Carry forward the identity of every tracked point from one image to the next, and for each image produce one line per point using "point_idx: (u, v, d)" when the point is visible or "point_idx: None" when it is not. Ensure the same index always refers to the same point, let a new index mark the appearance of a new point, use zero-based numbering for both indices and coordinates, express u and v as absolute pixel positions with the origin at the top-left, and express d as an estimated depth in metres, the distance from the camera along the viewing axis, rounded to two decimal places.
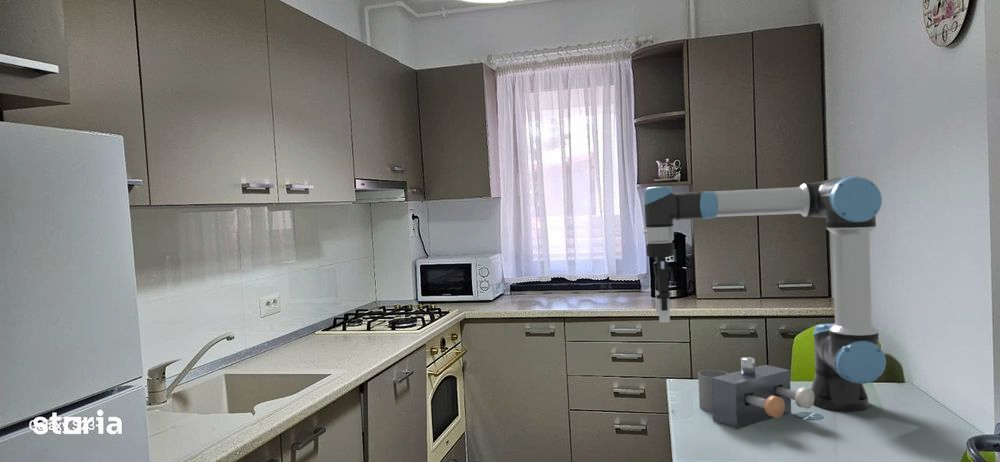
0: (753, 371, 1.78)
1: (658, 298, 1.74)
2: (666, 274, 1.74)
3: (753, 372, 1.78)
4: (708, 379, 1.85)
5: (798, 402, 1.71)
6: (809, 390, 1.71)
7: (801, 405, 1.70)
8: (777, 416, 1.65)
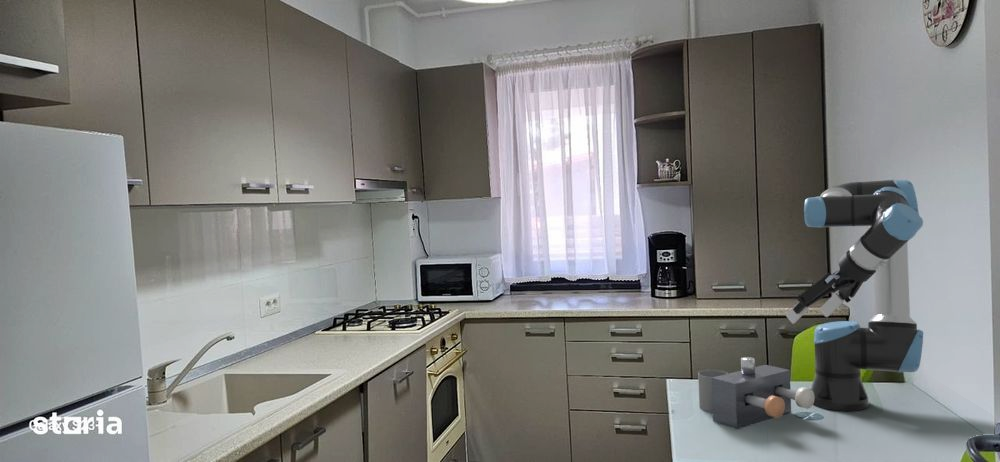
0: (753, 371, 1.78)
1: None
2: None
3: (753, 372, 1.78)
4: (708, 379, 1.85)
5: (798, 402, 1.71)
6: (809, 390, 1.71)
7: (801, 405, 1.70)
8: (777, 416, 1.65)
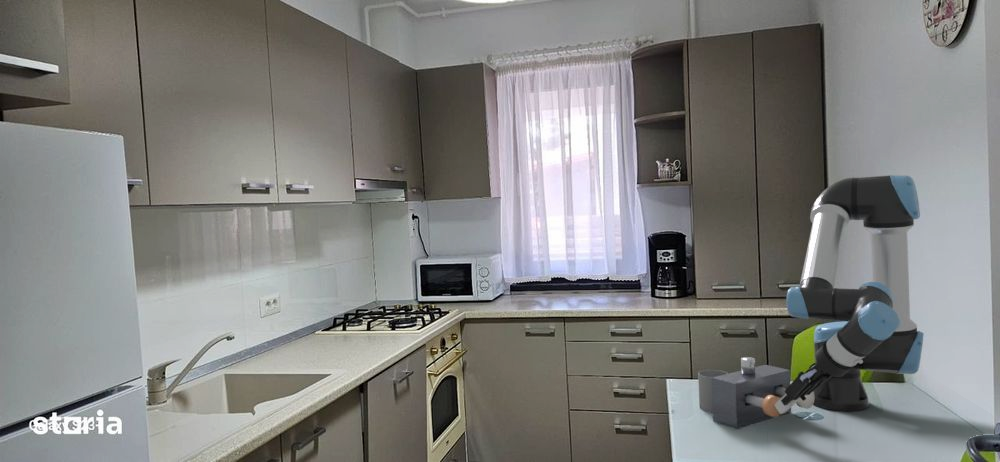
0: (753, 371, 1.78)
1: (801, 398, 1.60)
2: None
3: (753, 372, 1.78)
4: (708, 379, 1.85)
5: (798, 402, 1.71)
6: None
7: (801, 405, 1.70)
8: (775, 415, 1.65)
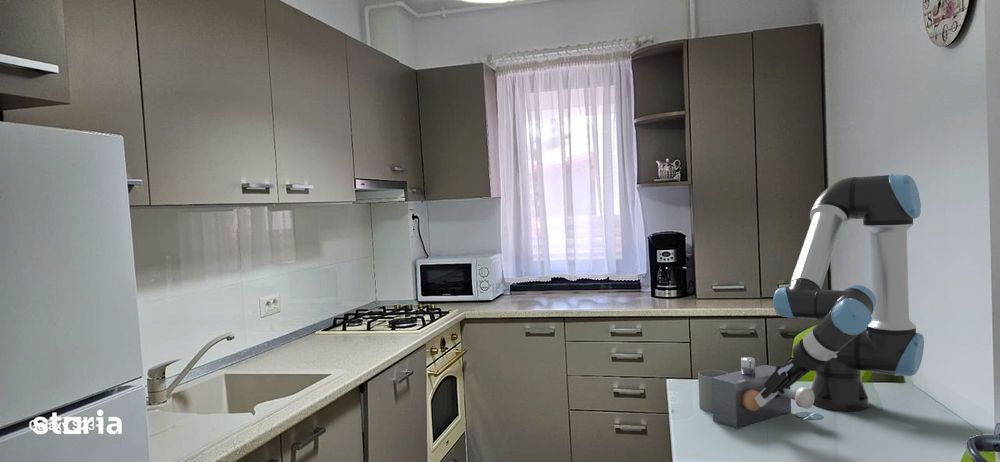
0: (753, 371, 1.78)
1: (780, 392, 1.65)
2: None
3: (753, 372, 1.78)
4: (708, 379, 1.85)
5: (798, 402, 1.71)
6: (809, 390, 1.71)
7: (801, 405, 1.70)
8: (754, 409, 1.71)
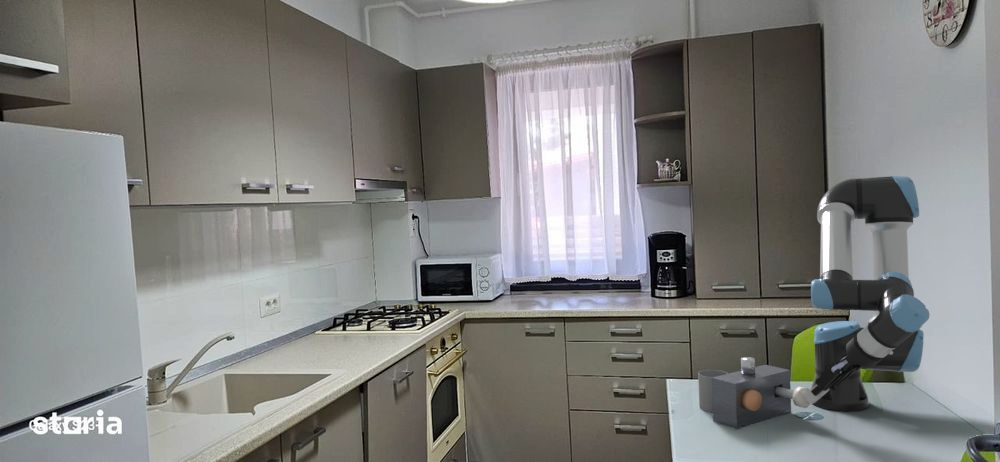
0: (753, 371, 1.78)
1: (831, 389, 1.66)
2: None
3: (753, 372, 1.78)
4: (708, 379, 1.85)
5: (795, 402, 1.71)
6: (806, 389, 1.72)
7: (798, 404, 1.71)
8: (754, 409, 1.71)
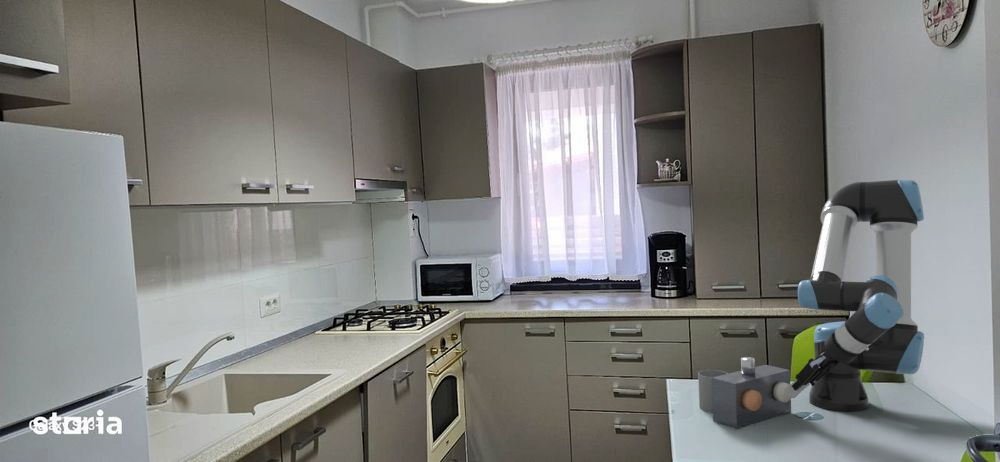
0: (753, 371, 1.78)
1: (811, 384, 1.71)
2: None
3: (753, 372, 1.78)
4: (708, 379, 1.85)
5: (776, 397, 1.77)
6: (787, 384, 1.77)
7: (779, 399, 1.76)
8: (754, 409, 1.71)
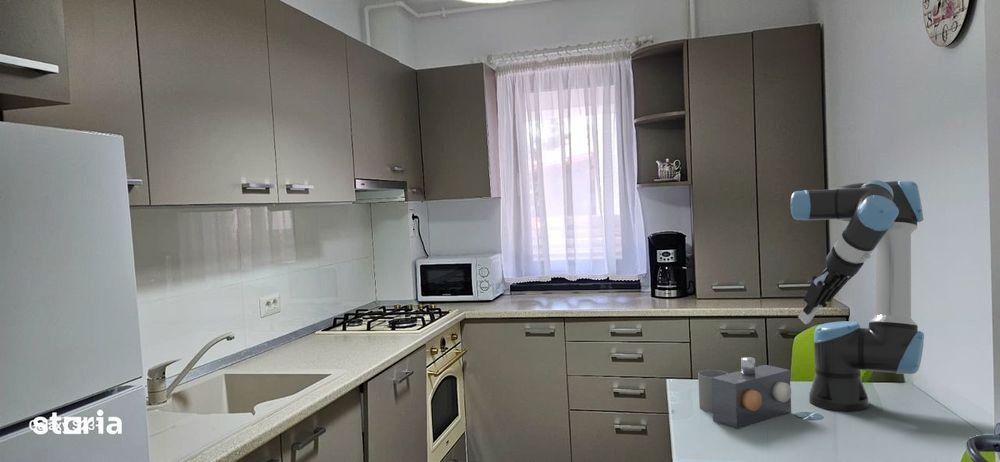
0: (752, 371, 1.78)
1: (822, 305, 1.65)
2: None
3: (752, 372, 1.78)
4: (708, 379, 1.85)
5: (775, 396, 1.77)
6: (786, 384, 1.77)
7: (778, 399, 1.76)
8: (754, 409, 1.71)
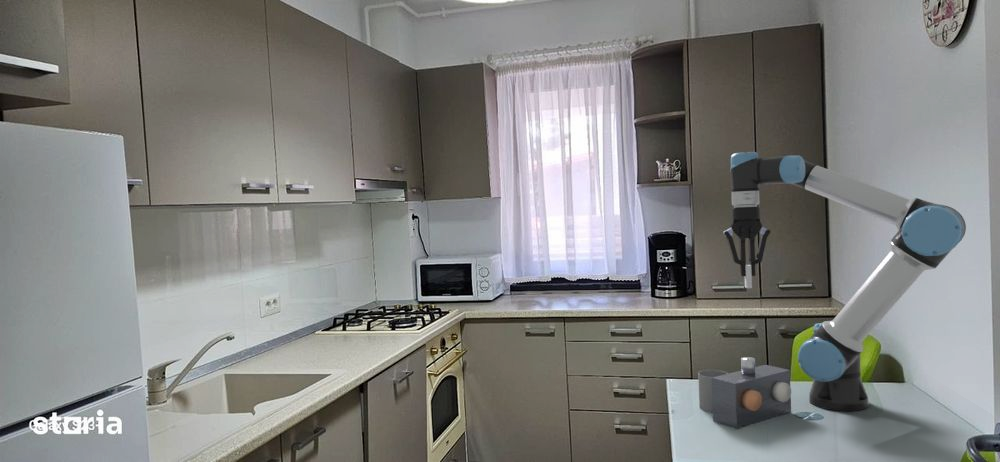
0: (752, 371, 1.78)
1: (752, 265, 1.87)
2: None
3: (752, 372, 1.78)
4: (708, 379, 1.85)
5: (775, 396, 1.77)
6: (786, 384, 1.77)
7: (778, 399, 1.76)
8: (754, 409, 1.71)
